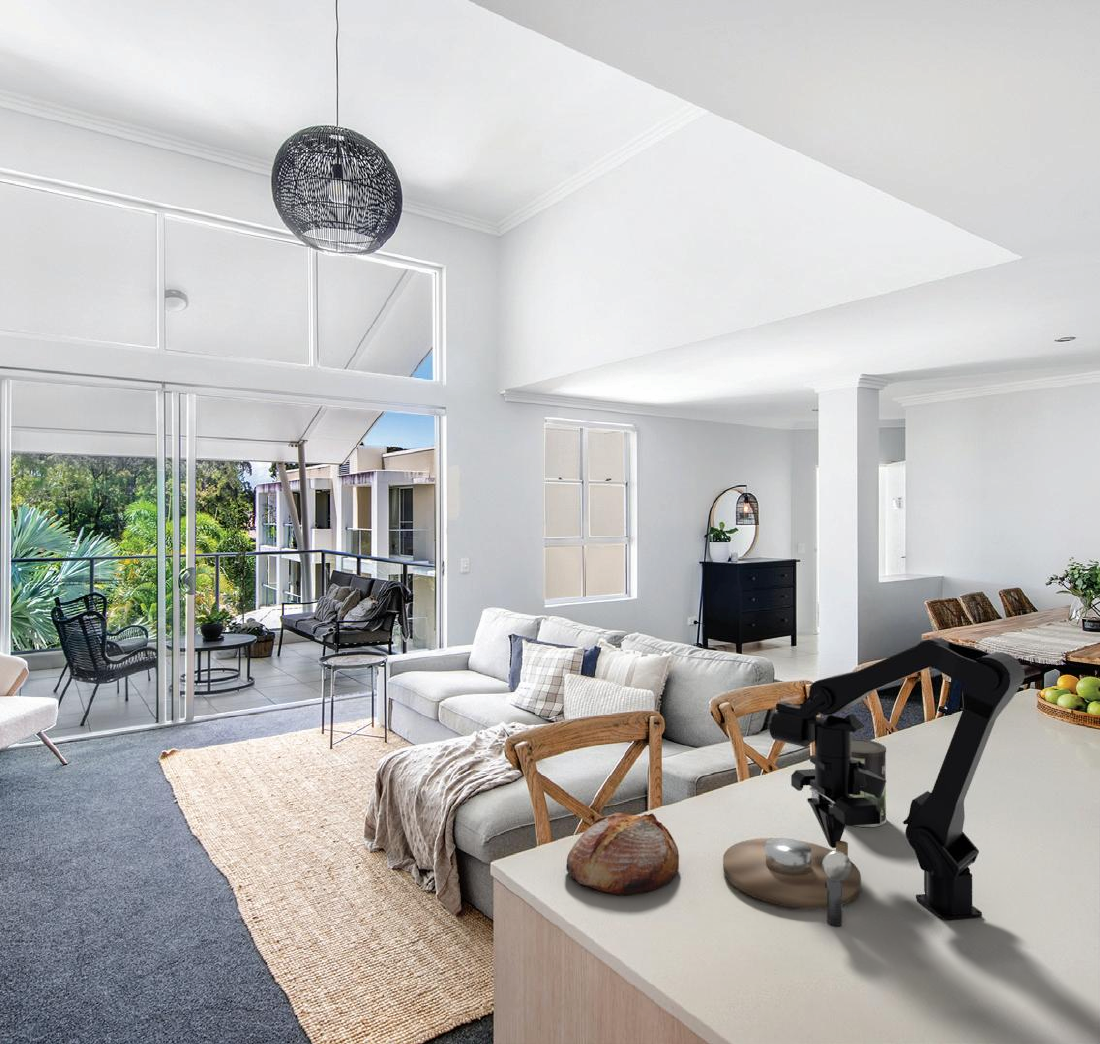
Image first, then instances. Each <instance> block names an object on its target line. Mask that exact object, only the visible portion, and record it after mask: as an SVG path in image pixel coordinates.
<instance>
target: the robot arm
mask: <svg viewBox="0 0 1100 1044" xmlns="http://www.w3.org/2000/svg"><path fill="white" fill-rule="evenodd" d="M930 668H932V669H935V670H937V671H938V672H940V673H942V674H944V675H945V676H947V677H948V678H950V679H952V680H954V681H957V682H959V683H962V689H961V691H962V693H961V697H962V712H961V714H960V717H959V719H958V722H957V725H956V727H955V730H954V733H953V735H952V738H951V739H950V743H949V746H948V749H947V751H946V753H945V756H944V759H943V761H942V764H941V767H940V769H939V772H938V775H937V777H936V780H935V782H934V785H933V787H932V790H931V792H930V791H929V790H926V791H925V792H923V793H922V794H920V795H918V796H916V797H915V798H913V799H912V801H911V803H910V807H909V812H908V816H907V817H906V819H905V820H904V821H902V824H903V825H906V828H905V832H904V833H905V838H906V840H907V841H908V843H909V846H911V848H912V849H913V851H914V852H915V853H914V854H915V856H916V859H917V862H918V864H919V868H920V869H921V870H922V871H923V881H924V882H923V887H924V888H923V893H922V894H921V893H919V894H916V895H915V899H916V900H917V901H918V902H920V903H921V904H922V905H923V906H924V907H926V908H928V910H930V911H931V912H932V913H933V914H935V915H936V916H937V917H939V919H942V920H958V919H967V918H970V919H971V918H978V917H979V918H980V917H983V912H982V911H981V910H979V909H978V908H976V907H975V906H974V905H973V874H972V872H971V869H970V866H971V865H972V864H974V863H975V862H976V860H977V857H978V855H979V853H980V851H979V849H978V847H977V846H976V845H975V844H974V843H973V842H972V841H971V839H970V838H969V837H968V836H967V835H966V834H965V832H964V831H963V830H964V826H965V823H964V822H965V818H966V817H965V816H966V815H965V799H966V797H967V794H968V791H969V790H970V787H971V784H972V782H973V779H974V777H975V774H976V771H977V768H978V766H979V764H980V761H981V759H982V755H983V753H984V751H985V748H986V746H987V743H988V740H989V738H990V735H991V733H992V731H993V728H994V726H995V722H996V720H997V719H998V717H999V715H1000V714H1001V713H1002V712H1003V710H1004V709H1005V708H1006V707H1007V705H1009V703H1010V702H1011V700H1012V699H1013V698H1014V696H1015V695H1016V694H1017V692H1018V690H1019V689H1020V688H1021V686H1022V685H1023V682H1024V681H1025V675H1026V674H1025V669H1024V668H1023V665H1022V664H1021V663H1020V661H1019V660H1018V659H1017V658H1016V657H1014V656H1013V655H1011V654H1010V653H1005V652H1001V651H1000V652H999V651H998V652H992V653H990V652H987V651H984V650H982V649H979V648H974V647H970V646H967V645H963V644H958V643H955V642H952V641H949V640H946V639H944V638H942V637H937V636H936V637H933V638H928V639H924V640H922V641H920V642H919V643H918V644H916V645H914V646H912V647H910V648H908V649H905V650H903V651H900V652H898V653H896V654H894V655H892V656H889V657H886V658H885V659H881V660H880V661H877V662H876V663H872V664H871V665H869V666H866V667H863V668H862V669H859V670H856V671H854V670H853V671H850V672H846V673H841V674H836V675H832V676H828V677H825V678H822V679H818V680H815V681H814V682H813V683H811V685H810V686H809V691H808V697H807V698H806V699H805V700H804V702H803V703H802V705H798V704H792V703H790V702H788V701H780V702H777V703H776V704H775V711H774V712H773V714H772V715H771V719H770V722H769V724H768V725H769V727H768V729H769V735H770V737H771V738H772V740H774V741H777V742H781V743H785V744H790V745H793V746H798V747H803V748H807V747H809V746H810V745H811V744H812V743H814V754H813V755H812V754H811V755H809V762H810V763H811V764H813V765H814V768H811V769H796V770H795V771H793V773H792V774H791V776H790V779H791V780H790V781H791V783H790V785H791V787H792V788H794V789H795V790H796V791H798V792H800V791H802V790H803V789H804V786H810V787H809V790H810V791H811V797H808V798H807V799H806V800H807V803H808V804H809V806H810V807H811V810H812V811H813V813H814V815H815V818H816V820H817V822H818V824H819V826H820V828H821V831H822V832H823V835H824V837H825V839H826V841H827V843H828V845H829V847H830V848H832V849H836V841H842V836H843V835H844V832H845V828H846V826H849V827H851V826H852V827H855V826H854V825H869V824H880V823H881V810H880V809H879V808H878V807H877V806H876V805H875V804H874V803H872V802H871V801H869V800H867V799H866V798H864V797H859V798H854V797H852V796H850V794H853V795H860V791H862V792H865V793H868V794H871V795H874V796H875V797H876V798H880V799H881V796H882V793H883V790H884V787H885V784H886V783H887V780H885V779H883V778H881V777H880V776H878V775H876V774H874V773H872V772H870V771H868V770H866V767H865V764H864V763H862V762H860V761H858V760H855V759H852V760H851V738H852V733H856V732H859V731H861V730H864V728H865V724H864V723H863V722H862V721H861V720H859V719H858V717H856V715H855V714H854V713H851V714H848V715H846V716H839V715H834V714H836V713H837V714H838V713H840V712H842V711H846V710H848V709H850V708H852V707H853V706H855V705H857V704H858V703H860V702H861V701H863V700H864V699H865V698H867V697H868V696H869V695H870V694H871V693H873V692H875V691H876V690H878V689H881V688H883V687H885V686H888V685H891V684H893V683H895V682H897V681H901V680H902V679H905V678H908V677H910V676H913V675H915V674H917V673H919V672H922V671H924V670H927V669H930ZM819 715H823V716H826V718H825V717H818V716H819ZM886 785H887V784H886Z"/></svg>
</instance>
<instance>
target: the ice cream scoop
mask: <svg viewBox="0 0 1100 1044" xmlns="http://www.w3.org/2000/svg"><path fill="white" fill-rule="evenodd" d="M850 861H851V859H850V858H849V856H848V857H847V856H846V855H845V854H844V853H843V852H841V851H836V850H833V851H831V852H829V853H828V854H827V855H826V856H825V857H824V859H823V862H822V869H823V872H824V873H825V875H826V876H827V883H825V888H826V889H827V908H826V923H827V925H828V926H831V927H833V928H840V927H842V926H843V904H842V880H844V879H845V878H846V877H847V876H848V875H849V873H850V871H851V862H852V861H851V862H850Z"/></svg>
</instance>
